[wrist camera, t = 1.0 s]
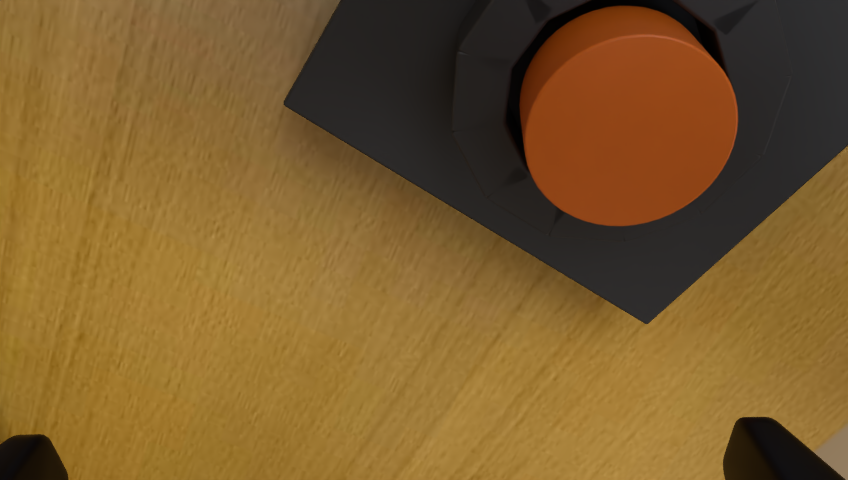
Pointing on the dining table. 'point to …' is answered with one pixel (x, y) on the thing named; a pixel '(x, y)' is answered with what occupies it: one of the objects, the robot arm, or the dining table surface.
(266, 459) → the dining table surface
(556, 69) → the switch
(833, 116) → the switch base
